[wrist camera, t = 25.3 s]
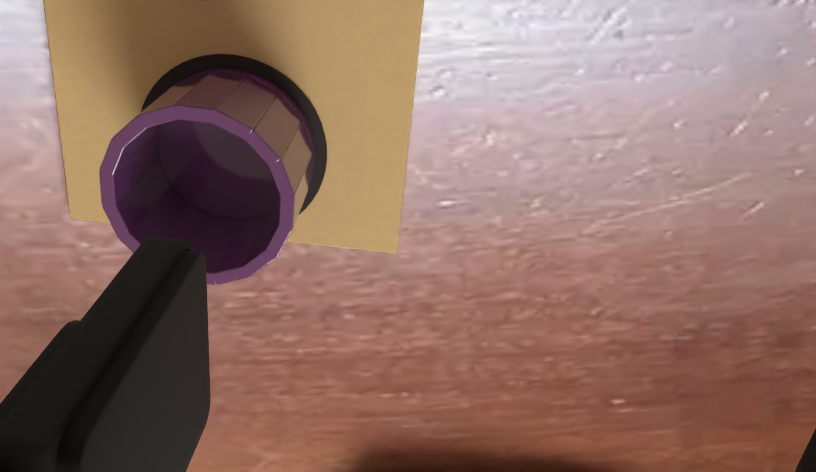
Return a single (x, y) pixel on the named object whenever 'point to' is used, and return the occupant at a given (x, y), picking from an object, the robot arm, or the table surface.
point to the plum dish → (212, 171)
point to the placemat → (264, 56)
